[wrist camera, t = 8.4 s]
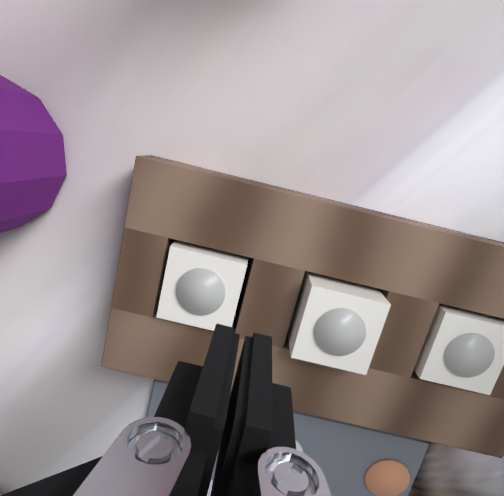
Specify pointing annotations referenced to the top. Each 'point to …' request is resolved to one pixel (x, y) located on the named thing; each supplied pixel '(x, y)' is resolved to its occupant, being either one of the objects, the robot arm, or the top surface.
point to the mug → (27, 157)
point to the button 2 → (462, 350)
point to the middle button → (337, 323)
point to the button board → (287, 289)
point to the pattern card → (349, 453)
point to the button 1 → (201, 285)
